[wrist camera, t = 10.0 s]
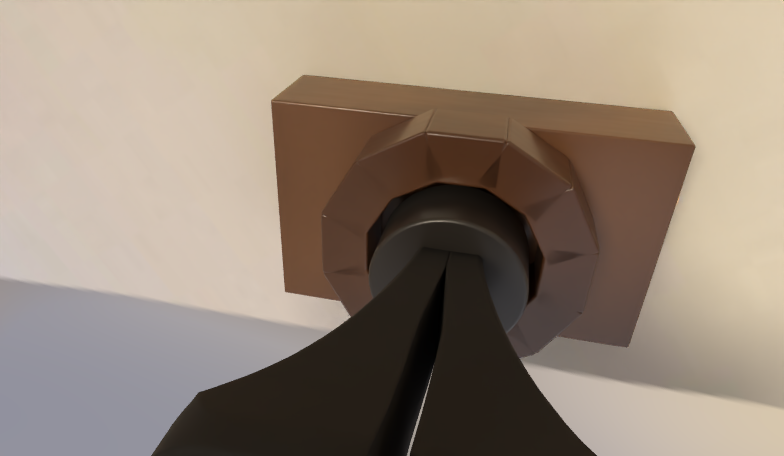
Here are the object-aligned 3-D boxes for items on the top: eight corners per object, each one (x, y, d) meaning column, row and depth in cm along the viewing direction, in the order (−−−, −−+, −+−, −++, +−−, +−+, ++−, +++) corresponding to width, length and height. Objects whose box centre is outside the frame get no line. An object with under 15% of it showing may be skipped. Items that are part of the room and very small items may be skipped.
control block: (676, 101, 14) (721, 164, 11) (615, 303, 18) (635, 398, 14) (302, 65, 16) (241, 110, 13) (310, 256, 19) (264, 333, 16)
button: (540, 193, 13) (542, 231, 11) (516, 316, 15) (515, 363, 13) (386, 174, 13) (368, 208, 12) (382, 294, 15) (366, 337, 14)
